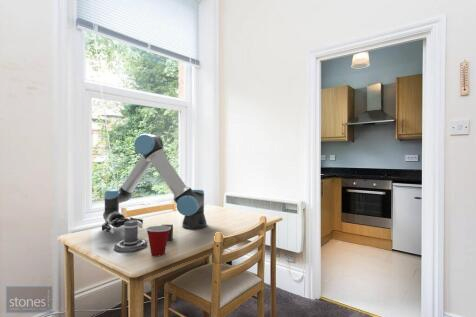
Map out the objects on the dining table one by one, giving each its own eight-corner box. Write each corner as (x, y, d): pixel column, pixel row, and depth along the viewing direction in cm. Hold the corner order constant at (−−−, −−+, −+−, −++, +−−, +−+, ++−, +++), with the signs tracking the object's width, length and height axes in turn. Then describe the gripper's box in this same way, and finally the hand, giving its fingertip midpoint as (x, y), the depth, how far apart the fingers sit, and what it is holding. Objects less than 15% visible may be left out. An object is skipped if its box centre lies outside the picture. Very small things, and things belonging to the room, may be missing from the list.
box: (161, 238, 139) (161, 224, 139) (173, 237, 139) (173, 224, 139) (159, 241, 133) (159, 227, 133) (171, 241, 133) (171, 227, 133)
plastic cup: (175, 250, 120) (175, 225, 120) (161, 259, 110) (161, 231, 110) (155, 247, 124) (156, 223, 124) (140, 256, 114) (140, 229, 114)
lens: (139, 242, 128) (139, 220, 128) (134, 246, 122) (134, 223, 122) (127, 242, 128) (127, 220, 128) (121, 246, 122) (121, 223, 122)
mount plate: (151, 241, 133) (151, 237, 133) (140, 252, 118) (140, 248, 118) (122, 241, 133) (122, 237, 133) (107, 252, 118) (107, 247, 118)
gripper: (138, 222, 153) (152, 231, 136) (91, 230, 137) (100, 240, 120) (138, 210, 153) (152, 216, 136) (91, 216, 137) (100, 224, 120)
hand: (127, 228), depth 128 cm, fingers open, 13 cm apart
